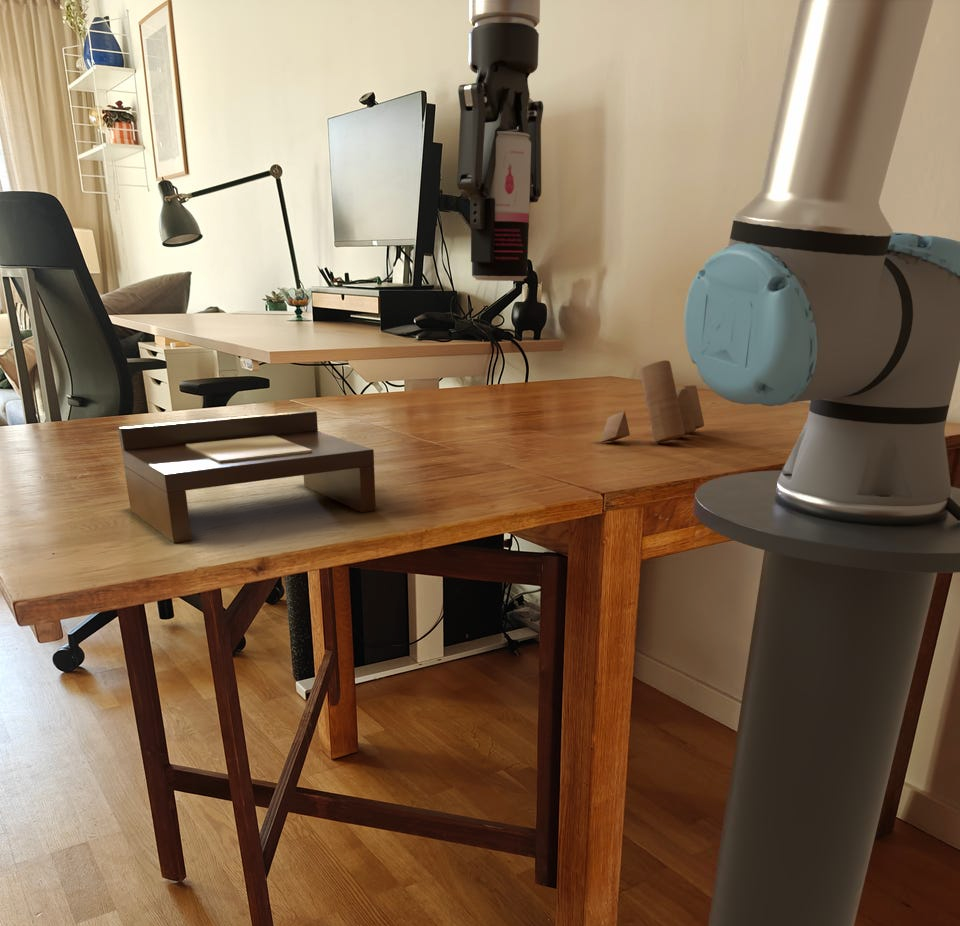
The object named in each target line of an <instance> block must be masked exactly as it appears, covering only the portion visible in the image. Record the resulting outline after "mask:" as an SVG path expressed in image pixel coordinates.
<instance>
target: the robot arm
mask: <svg viewBox="0 0 960 926" xmlns="http://www.w3.org/2000/svg"><path fill="white" fill-rule="evenodd" d="M933 3H934V0H799V3H798V7H797V13H796V16H795V17H796V18H795V23H794V28H793V32H792V37H791V41H790V46H789V49H788V50H789V51H788V55H787V60H786V64H785V69H784V73H783V78H782V79H783V80H782V84H781V89H780V94H779V99H778V103H777V107H776V112H775V117H774V122H773V127H772V133H771V136H770V142H769V146H768V150H767V155H766V159H765V164H764V168H763V169H764V170H763V175H762V180H761V184H760V188H759V191H758V193H757V194H756V195H755V196H754V198H753V199H752V200H751V201H749V202H748V203H747V204H745V206H743V207H742V208H741V209H740V210H738V211H737V212H736V213H735V214H734V216H733V221H732V226H731V231H730V234H729V240H728V246H726V247H725V248H723V249H721V250H719V251H717V252H716V253H714V254H713V255H711V256H710V257H709V258H708V259H706V261H705V262H704V268H702V269H700V270H698V271H697V272H696V273H695V275H694V277H693V279H692V282H691V284H690V286H689V289H688V292H687V297H686V301H685V306H684V315H683V316H684V317H683V323H684V324H683V325H684V326H683V327H684V328H683V329H684V337H685V343H686V348H687V351H688V354H689V355H688V356H689V358H690V360H691V362H692V363H693V364H695V365H696V369H697V373H698V375H699V377H700V378H701V380H702V382H703V383H704V384H705V385H706V386H707V387H708V388H709V390H711V392H713V393H714V394H716V395H717V396H719V397H721V398H722V399H724V400H726V401H728V402H732V403H734V404H740V405H762V406H765V407H775V406H784V405H788V404H790V403H797V402H798V403H799V402H808V401H810V402H809V407H808V408H809V410H808V414H807V419H806V422H805V424H804V425H803V428H802V430H801V432H800V434H799V436H798V438H797V440H796V442H795V444H794V446H793V448H792V450H791V451H790V454H789V456H788V458H787V459H786V462H785V464H784V465H781V466H782V467H781V469H780V470H781V473H780V476H779V478H778V482H777V489H776V495H775V498H776V500H777V502H779V503H780V504H781V505H783V506H784V507H786V508H788V509H791V510H793V511H796V512H799V513H802V514H805V515H809V516H813V517H817V518H822V519H827V520H832V521H838V522H844V523H852V524H861V525H872V526H919V525H927V524H932V523H936V522H939V521H942V520H944V519H945V518H946V517H947V515H948V512H949V513H950V514H952V515H953V516H954V517H955V518H956V519H957V520H958V521H959V520H960V506H958V505H957V504H956V503H955V502H954V501H953V500H952V499H951V498H952V494H951V487H952V484H951V476H950V468H949V460H948V450H947V443H946V435H945V429H946V423H947V418H948V414H949V410H950V404H951V401H952V396H953V393H954V389H955V384H956V380H957V375H958V371H959V366H960V240H959V241H958V240H955V239H951V238H947V237H941V236H937V235H936V236H935V235H921V234H915V233H911V232H897V231H896V232H894V229H893V228H892V226H891V224H890V223H889V222H888V220H887V218H886V216H885V215H884V213H883V211H882V210H881V209H882V208H881V206H880V199H881V196H882V191H883V188H884V185H885V180H886V178H887V177H886V176H887V173H888V170H889V165H890V162H891V158H892V154H893V151H894V148H895V144H896V140H897V136H898V132H899V129H900V125H901V122H902V118H903V114H904V111H905V107H906V103H907V99H908V95H909V92H910V88H911V85H912V81H913V79H914V78H913V77H914V73H915V70H916V67H917V63H918V59H919V55H920V51H921V47H922V45H923V40H924V36H925V33H926V29H927V26H928V23H929V19H930V16H931V12H932V8H933V7H932V6H933ZM540 17H541V0H469V23H470V24H471V25H472V26H473V28H472V29H471V30H470V31H469V33H468V67H469V69H470V70H471V72H473V73H475V74H476V78H475V82H474V83H466V84H460V85H459V86H458V88H457V93H458V99H459V100H458V101H459V108H460V113H459V115H460V117H459V136H458V137H459V139H458V155H457V156H458V157H457V175H456V186H457V189H458V190H459V191H460V194H461V197H462V198H463V199H469V214H470V215H469V226H470V263H472V262H494V231H495V198H487V197H489V196H490V192H491V187H492V182H493V177H494V171H495V166H496V138H497V136H498V134H497V131H511V132H521V133H526V134H529V135H530V138H529V140H530V142H531V164H530V198H529V208H531V207H530V204H531V203H538V201H539V200H540V197H541V196H542V120H543V115H544V114H543V113H544V103H543V101H541V100H536V101H534V100H533V99H531V98H530V97H531V95H530V94H531V93H530V89H529V81H528V80H529V76H530V75H531V74H533V73H535V72H536V70H537V69H538V67H539V47H540V46H539V43H540V34H539V32H538V30H537V29H536V28H535V27H537V26H538V25H539V24H540V22H541V18H540Z"/></svg>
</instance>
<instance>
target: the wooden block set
mask: <svg viewBox="0 0 960 926" xmlns="http://www.w3.org/2000/svg"><path fill="white" fill-rule="evenodd" d="M671 364H672V363H671V362H670V361H669V360H659V361H655V362H652V363H649V364H647V365H644V366H643V367H641V368H640V370H639V373H640V379H641V384H642V389H643V393H644V397H645V403H646V407H647V412H648V417H649V421H650V427H651V431H652V437H653V441H654V443H656V444H660V443H666V442H670V441H673V440H676V439H679V438H682V437H684V436H686V435H689V434H692V433H695V432H696V431H697V430H699V429H700V428H703V427H705V422H704V417H703V412H702V407H701V403H700V402H701V401H700V397H699V392H698V387H697V385H695V384H693V385H692V384H691V385H683V386H680V387H677V388H676V384H675V380H674V375H673V369H672V366H671ZM630 435H631V433H630V428H629V424H628V418H627V414H626V411H625V410H623V411H621V412H618V413H616V414H613V415H610V416H608V418H607V419H606V423H605V426H604V429H603V431H602V435H601V436H600V439H599V443H608V442H616V441H618V440H620V439H623V438H627V437H629V436H630Z"/></svg>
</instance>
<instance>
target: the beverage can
mask: <svg viewBox="0 0 960 926" xmlns="http://www.w3.org/2000/svg"><path fill="white" fill-rule="evenodd" d="M497 134H498V136H497V138H496V166H495V171H494V177H493V182H492V187H491V192H490V196H489V197H487V198H495V231H494V262H471V277H472V278H473V279H475V281H485V282H487V281H490V282H492V281H493V282H524V279H526V278H527V277H528V262H529V259H528V258H529V257H528V255H529V232H530V231H529V230H530V207H529V198H530V164H531V142H530V140H529V138H530V135H529V134H526V133H521V132H511V131H497Z"/></svg>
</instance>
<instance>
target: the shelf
mask: <svg viewBox="0 0 960 926" xmlns="http://www.w3.org/2000/svg"><path fill="white" fill-rule="evenodd" d="M117 429H118V436H119V443H120V448H121V456H122V461H123V463H122V464H123V468H124V475H125V481H126V482H125V483H126V488H127V494H128V501H129V509H130V511H131V512H132V513H133V514H134V515H136V516H138V517H139V518H140V519H142V520H143V521H144V522H145V523H147V524H148V525H149V526H150V527H152V528H153V529H155V530H156V531H157V532H159V533H160V534H161V535H163V536H164V537H165V538H167V539H168V540H169V541H170V542H172V543H173V544H175V543H176V544H177V543H183V542H188V541H192V540H193V539H192V529H191V522H190V514H189V506H188V498H187V491H191V490H200V489H207V488H216V487H223V486H231V485H237V484H247V483H254V482H261V481H268V480H276V479H284V478H285V479H286V478H292V477H299V476H303V487H304V488H307V489H310V490H312V491H313V492H316V493H318V494H320V495H322V496H324V497H327V498H329V499H331V500H334V501H335V502H338V503H340V504H341V505H342V504H343V505H345V506H346V507H349V508H351V509H353V510H355V511H358V512H360V513H366V512H373V511H376V510H377V507H376V506H377V505H376V504H377V503H376V502H377V501H376V480H375V479H376V475H375V450H374V448H371V447H367V446H365V445H362V444H357V443H355V442H353V441H349V440H346V439H343V438H340V437H337V436H335V435H331V434H328V433H326V432H322V431H319V425H318V412H317V410H313V409H312V410H303V411H302V410H301V411H291V412H278V413H267V414H256V415H245V416H244V415H243V416H233V417H232V416H231V417H222V418H211V419H200V420H187V421H176V422H175V421H174V422H165V423H153V424H142V425H132V426H131V425H129V426H118V427H117Z"/></svg>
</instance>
